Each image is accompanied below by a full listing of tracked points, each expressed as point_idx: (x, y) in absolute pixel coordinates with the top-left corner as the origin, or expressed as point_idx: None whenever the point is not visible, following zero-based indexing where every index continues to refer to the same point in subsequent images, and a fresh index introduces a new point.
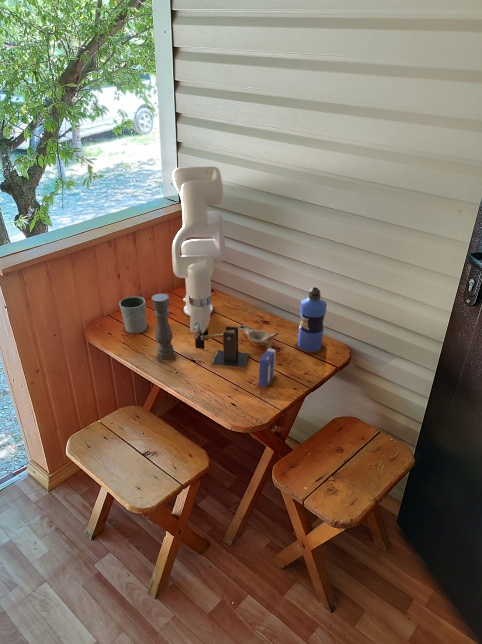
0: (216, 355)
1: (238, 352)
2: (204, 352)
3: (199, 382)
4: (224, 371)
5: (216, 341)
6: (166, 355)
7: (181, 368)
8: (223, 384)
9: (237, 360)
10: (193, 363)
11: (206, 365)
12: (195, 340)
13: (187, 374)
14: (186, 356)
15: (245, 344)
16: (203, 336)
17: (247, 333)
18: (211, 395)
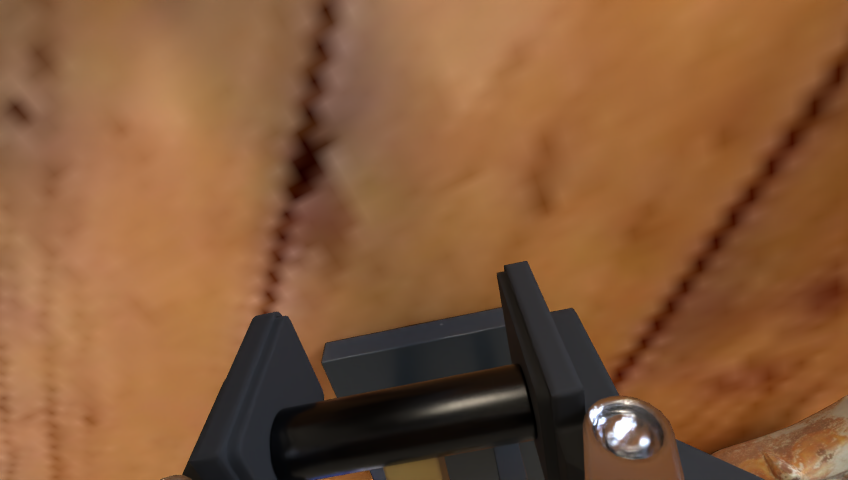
0: (451, 343)
1: None
2: (498, 192)
3: (72, 354)
4: None
5: (732, 206)
6: None
7: (112, 118)
8: (178, 473)
9: (449, 476)
10: (268, 187)
11: (308, 301)
12: (207, 430)
13: (79, 224)
14: (343, 46)
15: (709, 412)
16: (408, 471)
17: (820, 468)
18: (25, 465)
